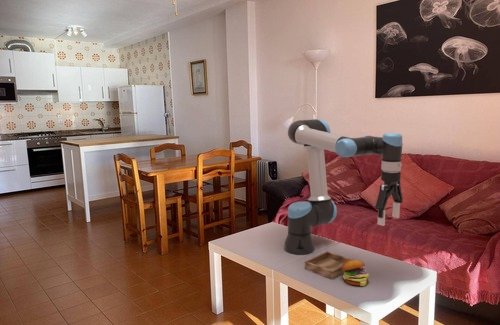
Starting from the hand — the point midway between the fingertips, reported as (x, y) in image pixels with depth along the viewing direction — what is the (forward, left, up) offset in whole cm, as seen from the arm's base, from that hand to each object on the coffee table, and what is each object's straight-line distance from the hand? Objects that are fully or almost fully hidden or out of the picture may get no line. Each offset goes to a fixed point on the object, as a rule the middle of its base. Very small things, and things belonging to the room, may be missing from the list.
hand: (388, 221), depth 159 cm
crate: (-21, -12, -24) cm, 34 cm away
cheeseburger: (-6, -15, -24) cm, 29 cm away
